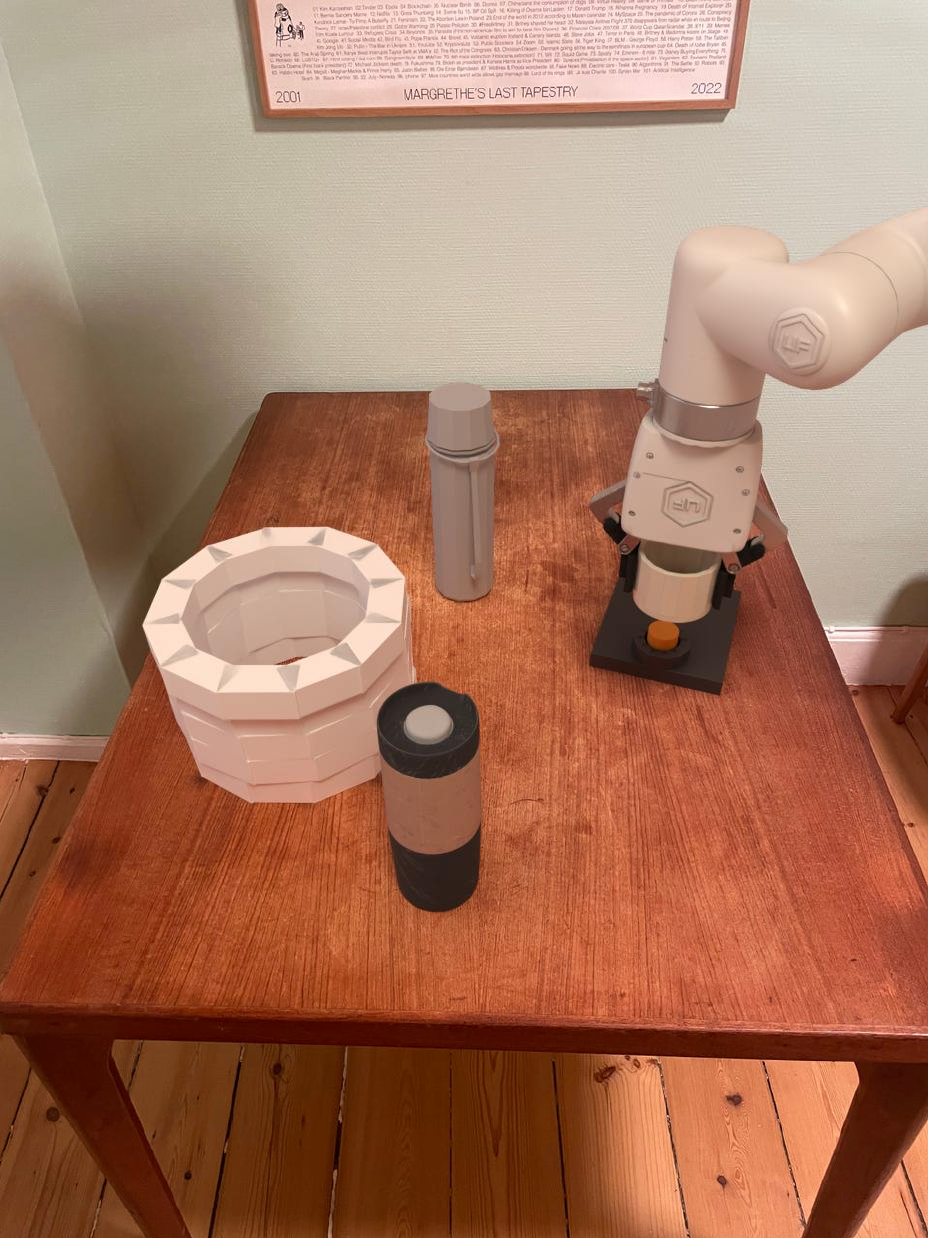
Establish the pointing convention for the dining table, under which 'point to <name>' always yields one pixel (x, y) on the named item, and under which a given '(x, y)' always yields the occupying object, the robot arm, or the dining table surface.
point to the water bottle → (462, 488)
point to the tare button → (663, 635)
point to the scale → (685, 665)
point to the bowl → (675, 581)
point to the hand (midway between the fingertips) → (673, 590)
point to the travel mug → (432, 792)
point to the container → (283, 659)
